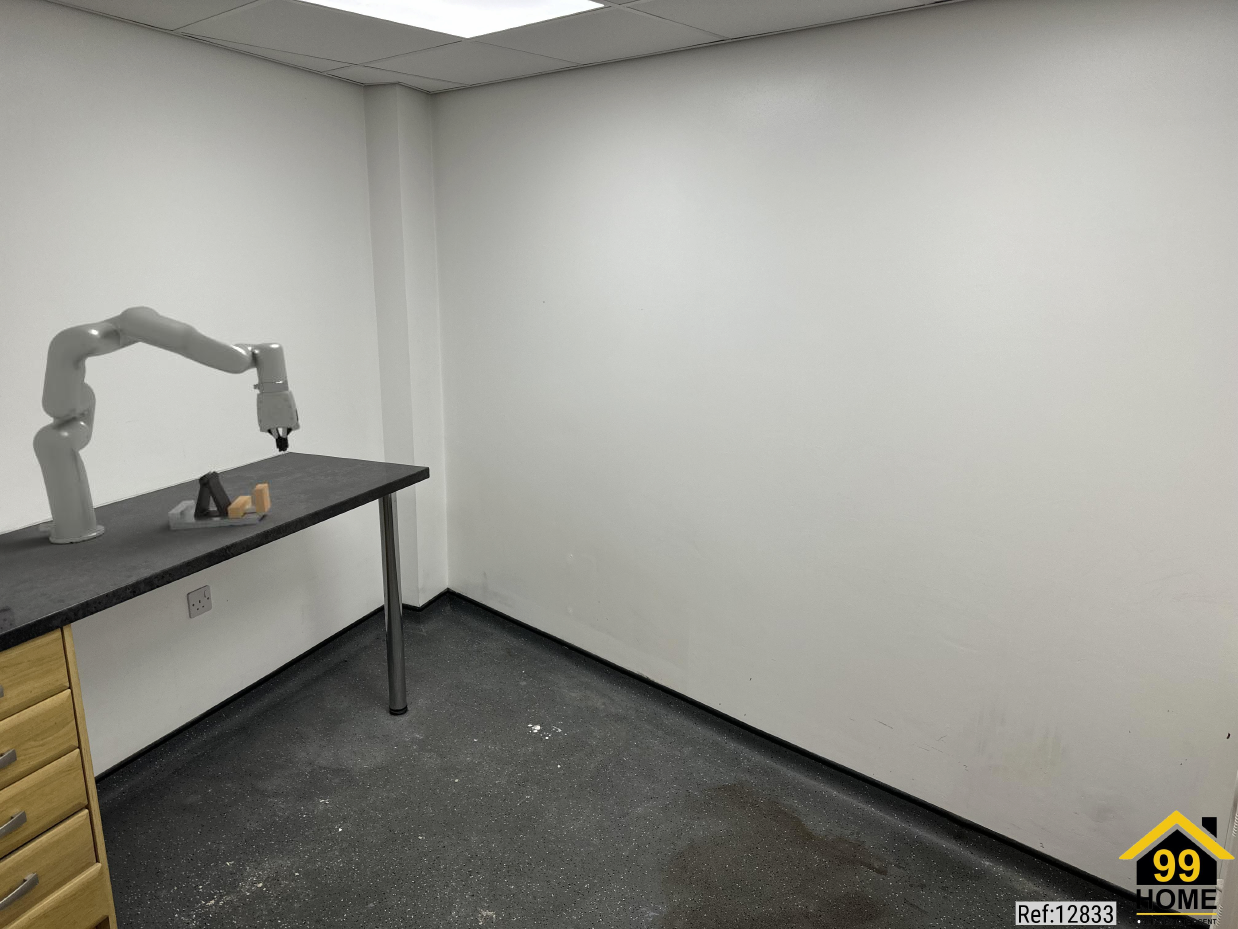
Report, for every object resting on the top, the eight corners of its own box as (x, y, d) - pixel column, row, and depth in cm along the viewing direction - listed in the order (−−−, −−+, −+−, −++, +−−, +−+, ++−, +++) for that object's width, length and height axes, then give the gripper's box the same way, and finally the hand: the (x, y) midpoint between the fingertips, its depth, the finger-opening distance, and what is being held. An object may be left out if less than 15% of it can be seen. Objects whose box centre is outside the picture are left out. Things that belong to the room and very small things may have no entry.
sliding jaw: (229, 518, 217) (225, 494, 216) (241, 505, 229) (237, 483, 227) (263, 515, 219) (259, 492, 217) (273, 503, 230) (270, 481, 229)
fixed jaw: (169, 523, 215) (168, 513, 214) (185, 510, 226) (183, 500, 226) (181, 522, 215) (179, 512, 215) (196, 509, 227) (194, 500, 226)
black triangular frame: (193, 517, 219) (186, 477, 216) (203, 511, 225) (196, 471, 222) (226, 516, 220) (219, 475, 217) (234, 509, 226) (228, 470, 223)
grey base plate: (171, 530, 215) (169, 523, 215) (186, 517, 227) (185, 510, 226) (256, 523, 219) (255, 517, 219) (267, 511, 231) (266, 504, 230)
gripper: (241, 391, 212) (252, 455, 217) (299, 387, 215) (307, 451, 219) (249, 387, 219) (259, 449, 224) (304, 384, 222) (313, 446, 226)
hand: (283, 450), depth 222 cm, fingers closed
